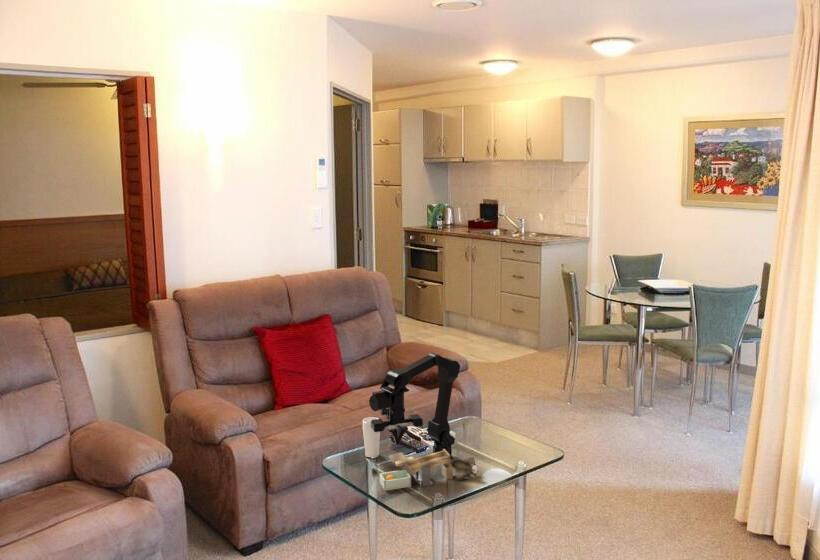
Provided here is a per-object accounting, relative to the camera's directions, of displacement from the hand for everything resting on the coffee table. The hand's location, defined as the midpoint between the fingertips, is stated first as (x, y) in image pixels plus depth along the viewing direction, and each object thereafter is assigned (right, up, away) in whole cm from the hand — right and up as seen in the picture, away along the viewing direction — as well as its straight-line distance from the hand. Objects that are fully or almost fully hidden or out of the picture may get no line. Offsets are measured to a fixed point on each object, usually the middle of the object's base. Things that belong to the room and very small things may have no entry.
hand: (397, 444), depth 271 cm
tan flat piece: (+9, -6, -1) cm, 10 cm away
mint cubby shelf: (-1, -13, -7) cm, 15 cm away
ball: (-2, -11, -8) cm, 13 cm away
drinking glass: (-10, -9, +17) cm, 22 cm away
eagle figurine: (+25, -12, -2) cm, 28 cm away
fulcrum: (+13, -12, -3) cm, 18 cm away
